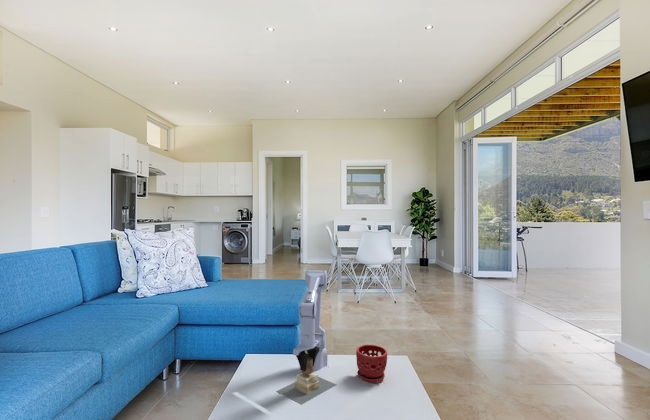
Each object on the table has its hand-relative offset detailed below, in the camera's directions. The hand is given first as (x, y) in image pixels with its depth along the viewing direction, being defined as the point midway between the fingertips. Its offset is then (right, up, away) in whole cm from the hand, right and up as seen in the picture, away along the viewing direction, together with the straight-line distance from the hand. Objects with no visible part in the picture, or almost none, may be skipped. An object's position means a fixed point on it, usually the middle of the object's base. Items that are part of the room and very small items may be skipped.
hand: (307, 368), depth 133 cm
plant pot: (+27, -10, +11) cm, 30 cm away
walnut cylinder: (0, -2, 0) cm, 2 cm away
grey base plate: (0, -9, 0) cm, 9 cm away
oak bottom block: (0, -8, 0) cm, 8 cm away
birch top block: (0, -5, 0) cm, 5 cm away
